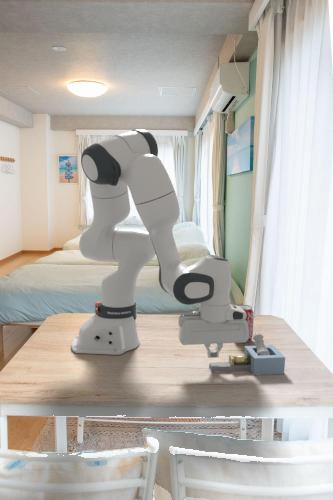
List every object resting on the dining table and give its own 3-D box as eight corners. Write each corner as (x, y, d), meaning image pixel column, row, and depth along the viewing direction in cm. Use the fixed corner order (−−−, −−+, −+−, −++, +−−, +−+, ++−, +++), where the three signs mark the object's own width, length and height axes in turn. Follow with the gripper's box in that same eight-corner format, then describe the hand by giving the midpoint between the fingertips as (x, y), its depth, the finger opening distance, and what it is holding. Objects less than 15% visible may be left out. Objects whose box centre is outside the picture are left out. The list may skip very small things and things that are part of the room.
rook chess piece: (255, 363, 117) (249, 339, 123) (270, 361, 117) (263, 337, 123) (257, 356, 114) (250, 332, 119) (272, 354, 114) (265, 330, 119)
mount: (214, 376, 111) (214, 359, 110) (206, 363, 120) (207, 347, 119) (284, 373, 113) (285, 357, 113) (272, 360, 122) (273, 345, 122)
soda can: (251, 336, 142) (252, 304, 140) (253, 344, 135) (255, 310, 133) (231, 335, 143) (232, 303, 141) (232, 343, 136) (233, 309, 134)
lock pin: (231, 365, 114) (231, 358, 114) (228, 361, 117) (228, 354, 117) (253, 365, 115) (254, 357, 115) (250, 360, 118) (250, 353, 118)
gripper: (180, 315, 109) (179, 363, 111) (252, 313, 112) (249, 359, 114) (176, 308, 115) (176, 353, 117) (244, 306, 118) (242, 350, 120)
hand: (212, 356), depth 116 cm, fingers closed
